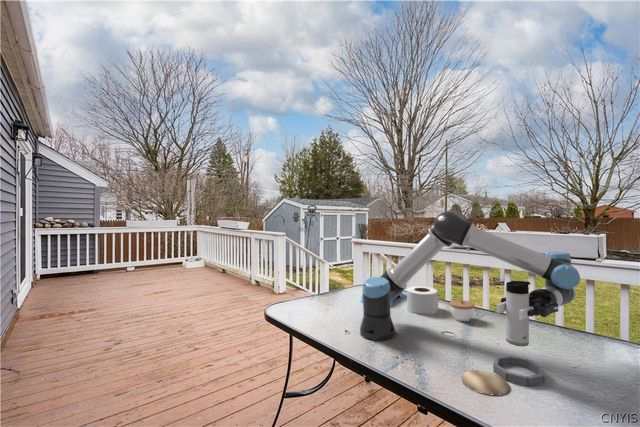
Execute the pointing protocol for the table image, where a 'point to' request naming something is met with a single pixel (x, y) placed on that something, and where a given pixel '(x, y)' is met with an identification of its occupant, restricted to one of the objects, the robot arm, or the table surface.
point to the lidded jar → (462, 310)
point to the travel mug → (517, 313)
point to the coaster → (485, 382)
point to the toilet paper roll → (422, 300)
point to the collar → (518, 378)
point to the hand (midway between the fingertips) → (508, 311)
